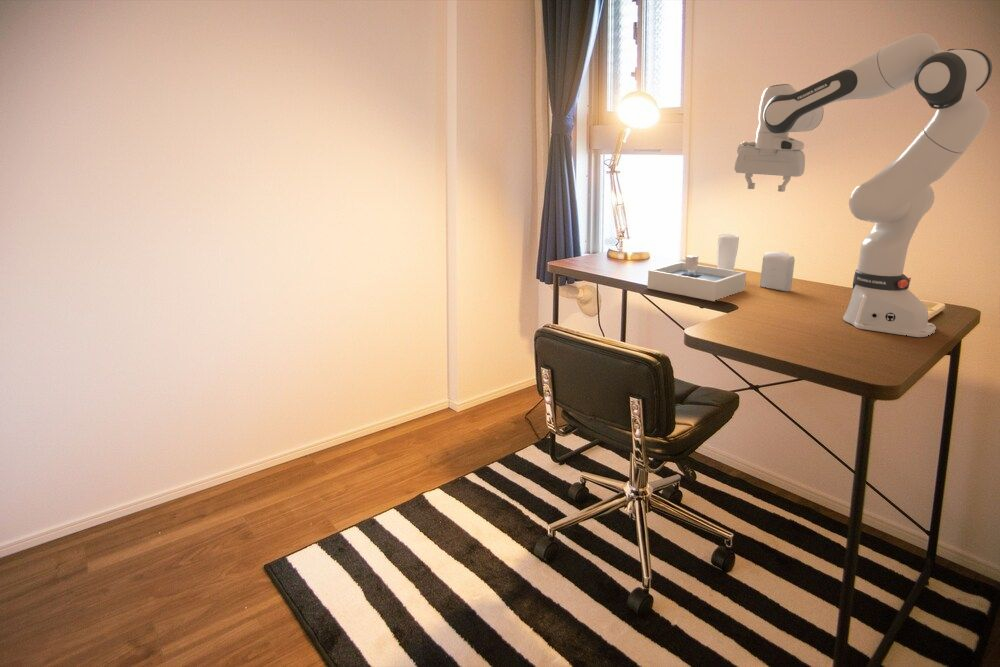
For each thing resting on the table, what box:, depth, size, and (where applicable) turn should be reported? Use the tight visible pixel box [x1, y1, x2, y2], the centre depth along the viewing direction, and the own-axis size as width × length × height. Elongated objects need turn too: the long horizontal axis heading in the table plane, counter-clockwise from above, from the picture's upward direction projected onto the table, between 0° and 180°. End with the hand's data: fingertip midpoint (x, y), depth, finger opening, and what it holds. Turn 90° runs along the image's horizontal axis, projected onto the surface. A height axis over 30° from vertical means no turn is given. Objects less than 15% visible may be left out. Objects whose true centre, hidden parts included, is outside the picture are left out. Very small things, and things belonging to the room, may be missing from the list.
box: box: [646, 261, 747, 302], centre depth 233 cm, size 24×20×6 cm
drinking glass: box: [716, 233, 740, 271], centre depth 247 cm, size 7×7×15 cm
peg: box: [684, 254, 699, 278], centre depth 237 cm, size 4×4×10 cm
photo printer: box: [759, 250, 796, 292], centre depth 234 cm, size 10×4×12 cm, turn 39°
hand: (765, 190), depth 215 cm, fingers open, 8 cm apart
